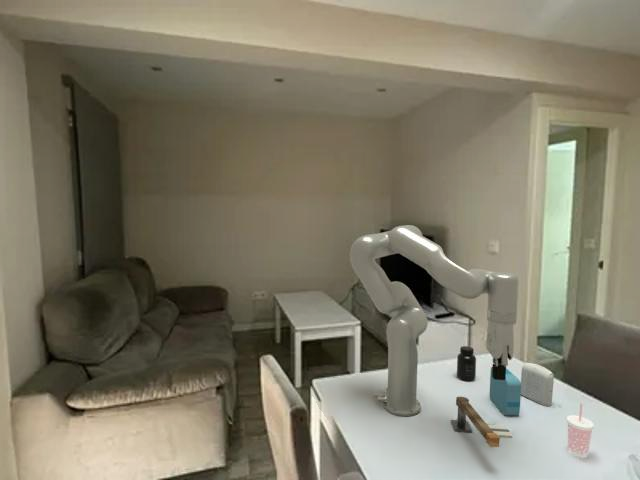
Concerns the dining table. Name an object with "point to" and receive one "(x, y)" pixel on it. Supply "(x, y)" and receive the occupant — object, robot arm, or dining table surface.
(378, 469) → the dining table surface
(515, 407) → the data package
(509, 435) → the label tile
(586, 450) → the beverage cup
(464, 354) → the supplement bottle
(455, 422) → the post
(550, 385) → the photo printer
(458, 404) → the swing bar
